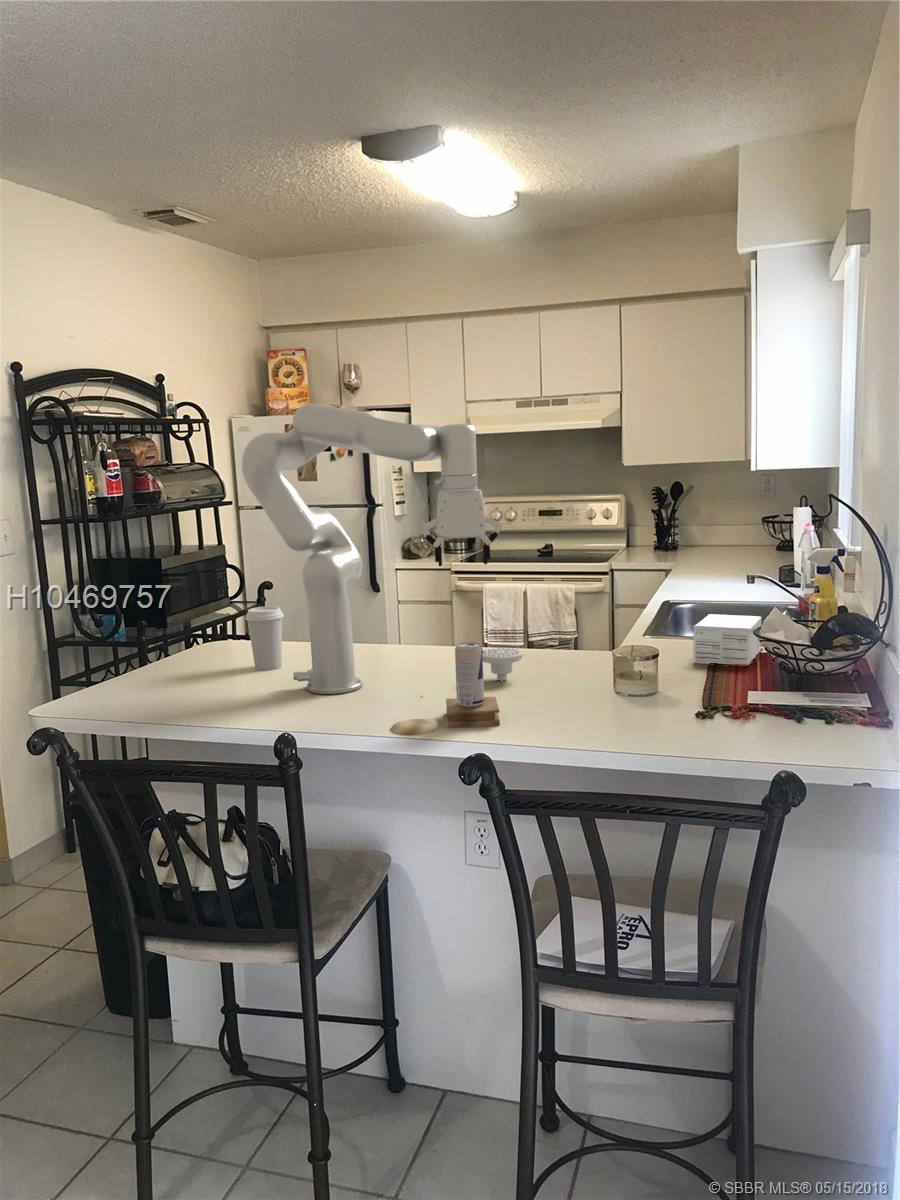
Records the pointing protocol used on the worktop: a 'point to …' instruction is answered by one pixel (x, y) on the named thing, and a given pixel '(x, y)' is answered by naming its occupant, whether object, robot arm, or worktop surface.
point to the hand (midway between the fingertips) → (462, 564)
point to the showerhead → (501, 661)
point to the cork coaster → (415, 727)
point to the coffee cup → (266, 636)
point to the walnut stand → (472, 714)
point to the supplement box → (726, 639)
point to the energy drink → (469, 674)
